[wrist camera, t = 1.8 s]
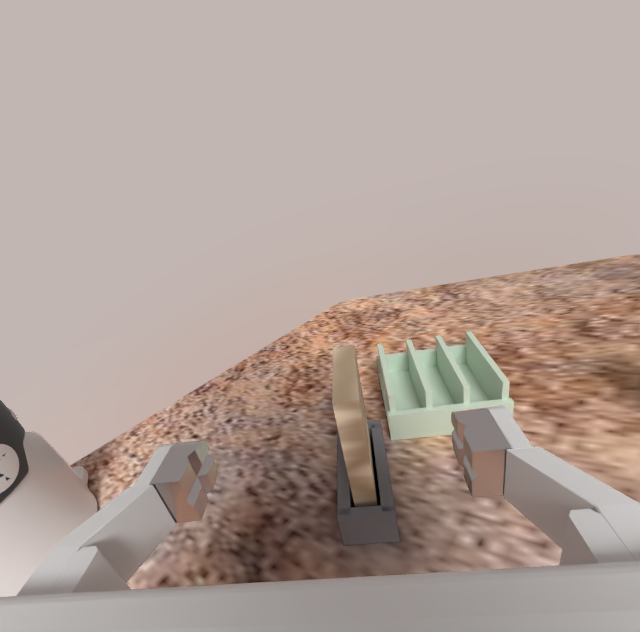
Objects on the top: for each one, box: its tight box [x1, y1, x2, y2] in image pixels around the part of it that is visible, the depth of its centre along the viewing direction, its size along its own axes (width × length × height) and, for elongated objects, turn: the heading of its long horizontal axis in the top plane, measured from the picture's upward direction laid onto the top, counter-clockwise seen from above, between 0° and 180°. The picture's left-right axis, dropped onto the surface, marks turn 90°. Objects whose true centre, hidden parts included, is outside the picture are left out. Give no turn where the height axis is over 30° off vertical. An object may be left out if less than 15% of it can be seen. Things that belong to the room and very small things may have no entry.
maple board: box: [332, 345, 379, 507], centre depth 27 cm, size 2×7×13 cm, turn 178°
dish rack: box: [376, 331, 514, 441], centre depth 37 cm, size 12×11×6 cm
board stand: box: [337, 420, 400, 545], centre depth 30 cm, size 4×10×3 cm, turn 177°
